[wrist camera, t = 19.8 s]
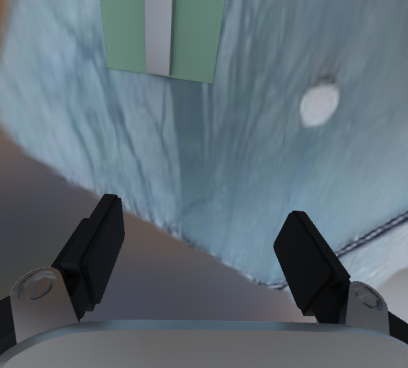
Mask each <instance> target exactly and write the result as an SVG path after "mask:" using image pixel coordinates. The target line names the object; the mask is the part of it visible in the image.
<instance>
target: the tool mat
mask: <svg viewBox="0 0 408 368" xmlns="http://www.w3.org/2000/svg"><path fill="white" fill-rule="evenodd" d="M100 2H101V11H102V21H103V30H104V40H105V49H106V58H107V68H111V69H118V70H125V71H131V72H138V73H144V74H151V75H157V76H164V77H171V78H177V79H184V80H190V81H197V82H203V83H210V84H213V78H214V71H215V64H216V57H217V51H218V44H219V37H220V30H221V24H222V17H223V10H224V3H225V0H176V3H175V24H174V45H173V65H172V74H171V75H170V76H165V75H159V74H152V73H146V48H145V0H100Z"/></svg>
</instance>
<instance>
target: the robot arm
mask: <svg viewBox="0 0 408 368" xmlns="http://www.w3.org/2000/svg"><path fill="white" fill-rule="evenodd" d="M124 235H125V232H124V222H123V211H122V201H121V198H118V196H117V195H114V194H104V195H103V197H102V198H101V200H100V202H99V203H98V205H97V206H96V208H95V210H94V211H93V213H92V214H91V216H90V217H89V218H84V219H83V220H82V221H81V222H80V224H79V225H78V227H77V228H76V230H75V231H74V233H73V234H72V236H71V237H70V239H69V240H68V242H67V243H66V245H65V246H64V247H63V249H62V250H61V252H60V253H59V255H58V256H57V258H56V259H55V261H54V262H53V264H52V266H51V267H44V268H39V269H36V270H33V271H31V272H30V273H28V274H26V275H25V276H23V277H22V278H21V279H19V280H18V282H17V283H16V284H15V285H14V287H13V288H12V290H11V295H10V296H8V297H6V298H4V299H2V300H0V368H408V324H407V323H406V322H404V321H403V320H401V319H400V318H398V317H396V316H395V315H393V314H392V313H391V312H389V311H388V308H387V304H386V302H385V301H384V299H383V298H382V296H381V295H380V294H379V293H378V292H377V291H376V290H375V289H373V288H372V287H370V286H369V285H367V284H365V283H363V282H359V281H353V282H352V283H351V282H350V280H349V278H350V277H351V276H350V275H349V274H348V272H347V271H346V269H345V268H344V266H343V265H342V264H341V262H340V261H339V259H338V258H337V256H336V255H335V254H334V252H333V251H332V249H331V248H330V247H329V245H328V244H327V242H326V241H325V239H324V238H323V237H322V235H321V234H320V232H319V231H318V229H317V228H316V227H315V225H314V224H313V222H312V221H311V220H310V218H309V217H308V215H307V214H306V213H305V212H304V211H292V213H289V215H288V217H287V219H286V221H285V223H284V225H283V227H282V229H281V230H280V232H279V234H278V236H277V238H276V240H275V242H274V246H273V247H274V251H275V253H276V256H277V258H278V261H279V263H280V266H281V268H282V271H283V273H284V275H285V278H286V280H287V283H288V285H289V288H290V290H291V293H292V295H293V297H294V300H295V302H296V305H297V307H298V308H299V309H301V311H302V313H303V316H314V315H315V317H316V319H317V321H316V323H295V322H248V321H246V322H245V321H186V320H185V321H184V320H183V321H182V320H179V321H178V320H103V321H88V322H80V319H81V318H82V317H83V316H84V314H85V311H93V310H94V307H95V305H96V304H99V303H100V302H101V299H102V297H103V294H104V291H105V288H106V286H107V283H108V281H109V278H110V275H111V273H112V270H113V267H114V265H115V262H116V259H117V256H118V254H119V251H120V249H121V246H122V243H123V241H124Z"/></svg>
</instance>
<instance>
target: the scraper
mask: <svg viewBox="0 0 408 368" xmlns="http://www.w3.org/2000/svg"><path fill="white" fill-rule="evenodd" d="M175 3H176V0H145V48H146V73H152V74H159V75H165V76H170V75H171V74H172V65H173V45H174V24H175Z"/></svg>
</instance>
